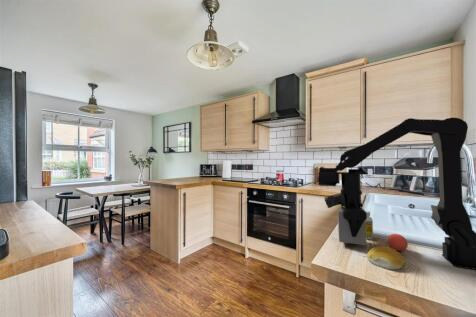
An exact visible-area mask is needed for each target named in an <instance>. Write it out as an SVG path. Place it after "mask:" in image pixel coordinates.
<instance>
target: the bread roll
mask: <svg viewBox="0 0 476 317" xmlns="http://www.w3.org/2000/svg"><path fill="white" fill-rule="evenodd" d="M366 258H367V260H368V262H369V263H371V264H372V265H374V266H376V267H379V268H382V269H386V270H392V271H395V270H396V271H397V270H400V269H401V268H403V266H404V265H405V262H406V261H405V258H404V257H403V255H402V254H401V253H400V251H399V252H398V251H397V250H394V249H392V248H391V247H390V246H389V247H388V246H376V247H372V248H370V250H369V251H368V252H367V253H366Z"/></svg>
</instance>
